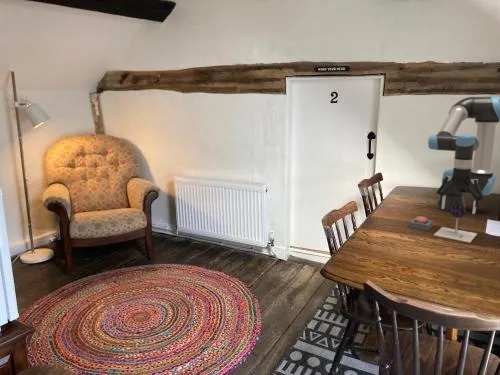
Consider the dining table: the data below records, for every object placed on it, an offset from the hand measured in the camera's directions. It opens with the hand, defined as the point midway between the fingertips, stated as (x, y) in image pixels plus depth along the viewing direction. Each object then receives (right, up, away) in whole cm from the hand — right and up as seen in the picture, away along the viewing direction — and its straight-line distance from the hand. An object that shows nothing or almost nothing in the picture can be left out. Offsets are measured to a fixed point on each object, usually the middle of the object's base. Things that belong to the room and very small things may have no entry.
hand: (458, 210), depth 193 cm
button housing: (-12, -9, +15) cm, 21 cm away
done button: (-12, -7, +14) cm, 20 cm away
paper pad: (0, -12, +3) cm, 12 cm away
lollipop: (0, -12, +3) cm, 12 cm away
